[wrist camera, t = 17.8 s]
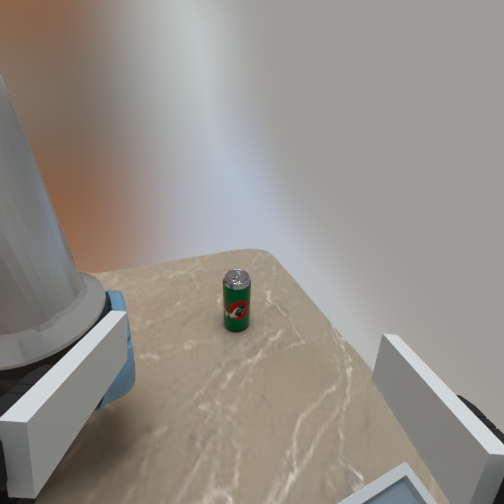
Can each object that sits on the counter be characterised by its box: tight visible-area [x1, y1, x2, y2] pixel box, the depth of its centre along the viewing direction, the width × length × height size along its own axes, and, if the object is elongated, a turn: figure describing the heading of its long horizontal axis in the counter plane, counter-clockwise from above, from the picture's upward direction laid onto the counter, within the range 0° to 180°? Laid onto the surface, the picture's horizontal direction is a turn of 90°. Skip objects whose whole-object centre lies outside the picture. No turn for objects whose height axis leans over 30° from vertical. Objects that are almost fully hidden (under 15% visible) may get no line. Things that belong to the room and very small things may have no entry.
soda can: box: [223, 269, 251, 331], centre depth 53 cm, size 5×5×12 cm
